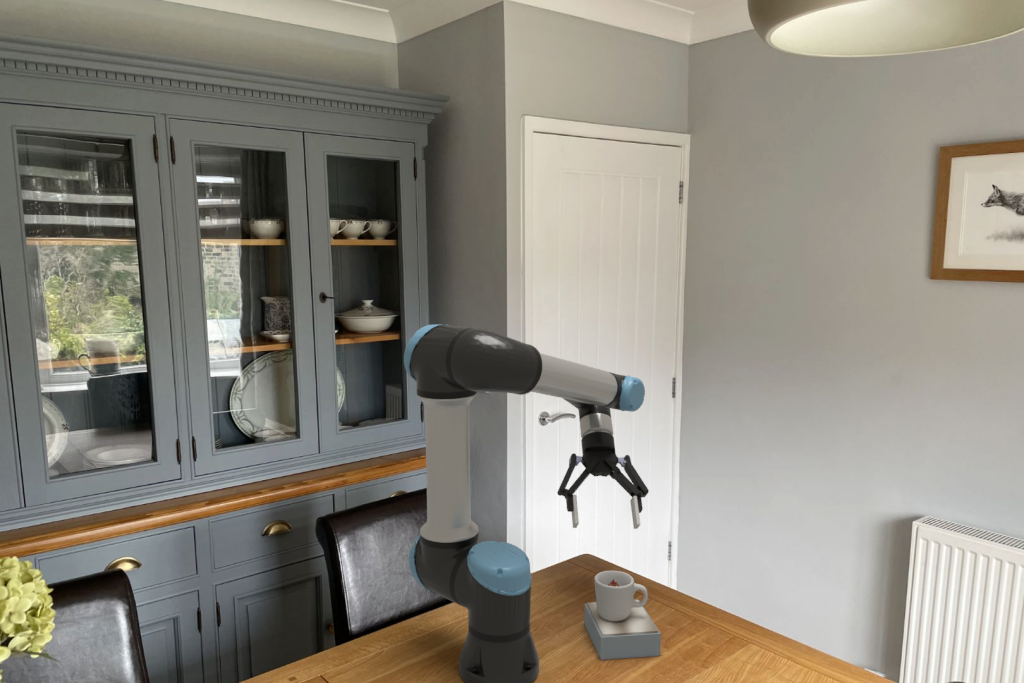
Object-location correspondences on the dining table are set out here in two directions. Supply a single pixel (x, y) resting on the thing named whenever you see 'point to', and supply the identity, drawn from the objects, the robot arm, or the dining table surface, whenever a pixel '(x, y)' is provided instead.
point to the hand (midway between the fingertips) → (606, 526)
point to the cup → (616, 595)
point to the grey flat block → (622, 634)
